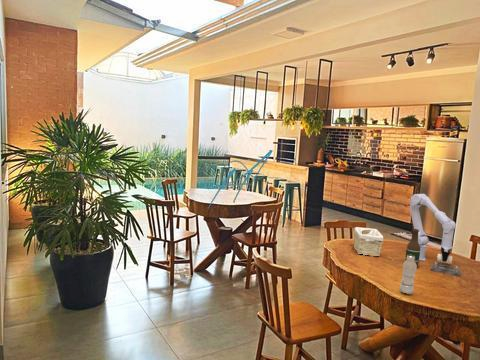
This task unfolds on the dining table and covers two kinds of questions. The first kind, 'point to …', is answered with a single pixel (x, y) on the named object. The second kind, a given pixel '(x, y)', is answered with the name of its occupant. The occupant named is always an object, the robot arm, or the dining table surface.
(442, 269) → the roll cradle
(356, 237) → the storage basket
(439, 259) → the paper roll
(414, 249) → the beer bottle
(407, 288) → the plastic bottle
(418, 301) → the dining table surface
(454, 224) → the robot arm
